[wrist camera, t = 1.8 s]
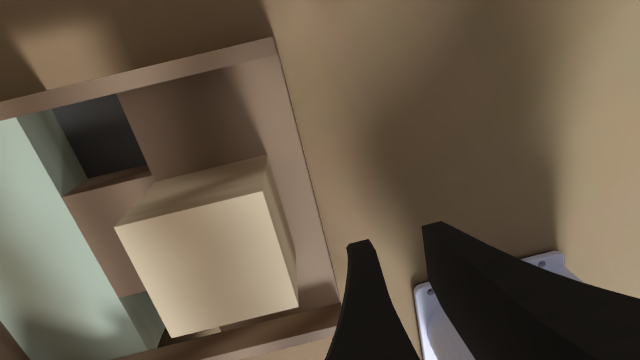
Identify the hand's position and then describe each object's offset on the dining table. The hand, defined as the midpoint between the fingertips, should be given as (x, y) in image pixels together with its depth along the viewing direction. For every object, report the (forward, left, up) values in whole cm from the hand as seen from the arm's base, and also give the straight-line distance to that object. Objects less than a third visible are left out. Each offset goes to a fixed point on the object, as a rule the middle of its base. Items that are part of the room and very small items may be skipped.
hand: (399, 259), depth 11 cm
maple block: (+6, 0, -6) cm, 9 cm away
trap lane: (+11, 0, -8) cm, 14 cm away
